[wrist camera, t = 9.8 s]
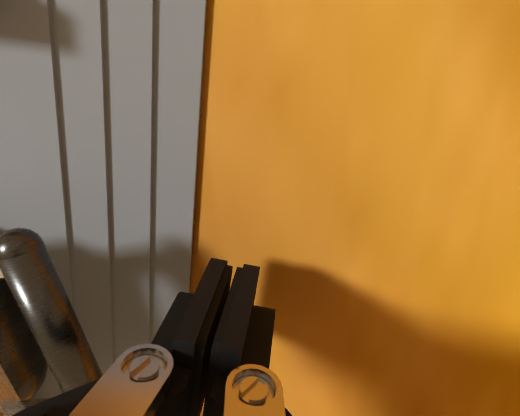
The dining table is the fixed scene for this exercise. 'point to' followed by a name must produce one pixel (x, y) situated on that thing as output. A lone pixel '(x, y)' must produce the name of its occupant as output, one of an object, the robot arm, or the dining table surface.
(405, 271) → the dining table surface
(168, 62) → the dock
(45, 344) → the trolley
